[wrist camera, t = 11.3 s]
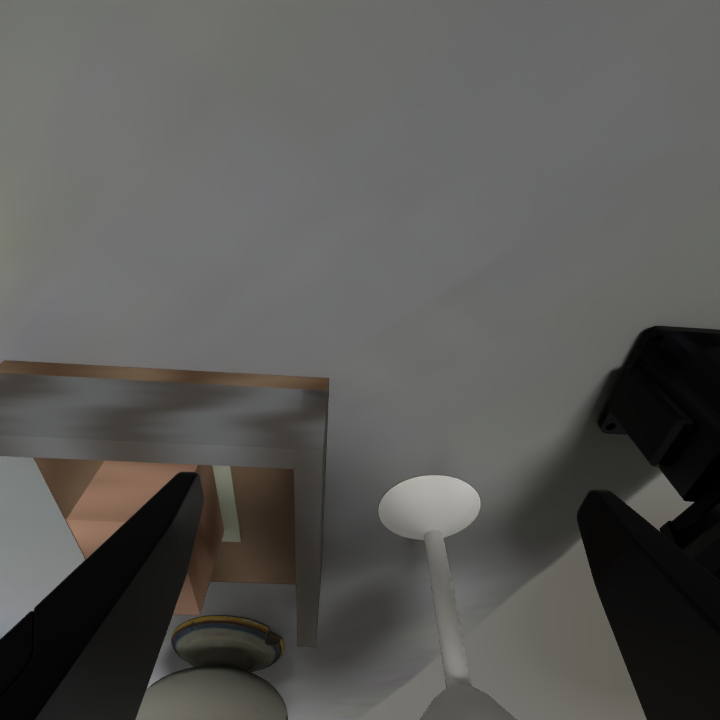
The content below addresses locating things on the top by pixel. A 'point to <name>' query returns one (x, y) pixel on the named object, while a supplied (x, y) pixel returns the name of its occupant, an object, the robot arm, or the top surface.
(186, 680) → the apothecary jar
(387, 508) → the champagne flute
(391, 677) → the top surface
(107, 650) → the robot arm
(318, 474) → the brown rimmed piece
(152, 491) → the block
